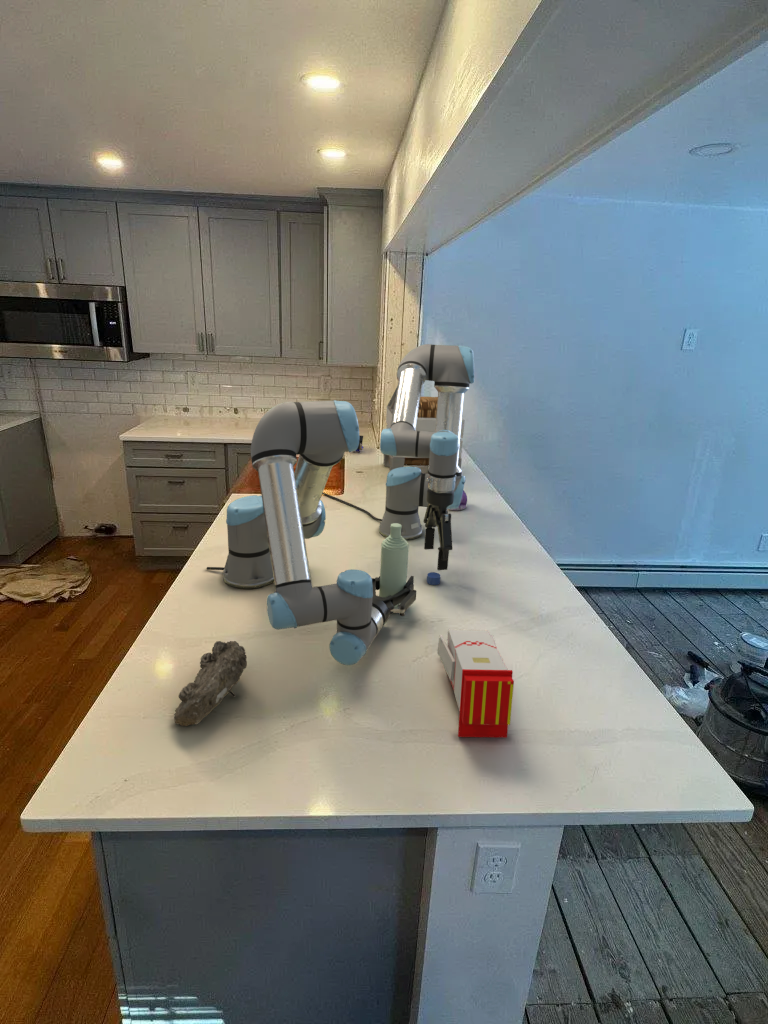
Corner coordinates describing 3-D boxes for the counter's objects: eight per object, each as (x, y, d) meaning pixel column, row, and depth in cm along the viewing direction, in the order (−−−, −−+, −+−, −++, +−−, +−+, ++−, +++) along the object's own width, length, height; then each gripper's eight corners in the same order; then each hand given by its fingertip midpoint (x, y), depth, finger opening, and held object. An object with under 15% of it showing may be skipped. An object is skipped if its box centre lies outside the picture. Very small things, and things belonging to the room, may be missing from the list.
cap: (423, 581, 166) (424, 574, 165) (432, 577, 168) (432, 570, 168) (434, 586, 163) (434, 579, 162) (442, 582, 166) (443, 575, 165)
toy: (488, 613, 130) (523, 677, 101) (484, 667, 133) (517, 744, 104) (435, 612, 130) (455, 676, 101) (432, 666, 133) (451, 743, 103)
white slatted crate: (382, 463, 289) (386, 382, 275) (445, 464, 293) (451, 384, 279) (390, 482, 257) (394, 392, 243) (460, 483, 261) (468, 394, 247)
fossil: (197, 643, 123) (246, 611, 118) (228, 672, 126) (277, 642, 121) (151, 720, 104) (207, 686, 99) (188, 752, 107) (245, 721, 102)
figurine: (453, 512, 223) (457, 475, 218) (439, 504, 231) (442, 469, 226) (473, 509, 227) (477, 473, 222) (459, 501, 236) (462, 467, 231)
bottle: (407, 602, 153) (413, 522, 146) (400, 614, 147) (405, 531, 139) (383, 597, 155) (387, 518, 148) (375, 609, 149) (378, 527, 141)
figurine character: (362, 456, 306) (363, 447, 319) (363, 443, 302) (363, 434, 316) (350, 456, 306) (351, 446, 319) (350, 442, 302) (351, 433, 316)
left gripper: (330, 623, 137) (363, 583, 158) (408, 641, 131) (433, 597, 152) (330, 595, 135) (364, 558, 155) (410, 612, 129) (435, 572, 149)
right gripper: (416, 475, 167) (411, 541, 174) (441, 505, 144) (435, 579, 152) (440, 475, 168) (435, 540, 176) (469, 504, 145) (461, 578, 153)
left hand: (398, 577), depth 154 cm, fingers closed on bottle, 7 cm apart
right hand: (435, 558), depth 164 cm, fingers open, 13 cm apart
